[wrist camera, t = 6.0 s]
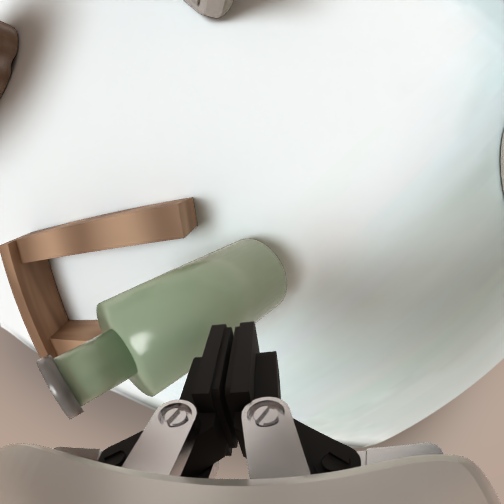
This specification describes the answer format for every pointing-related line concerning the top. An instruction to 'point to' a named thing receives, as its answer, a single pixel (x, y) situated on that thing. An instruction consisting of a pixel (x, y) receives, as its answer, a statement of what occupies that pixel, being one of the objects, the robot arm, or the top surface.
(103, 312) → the bottle
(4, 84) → the plant pot
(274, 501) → the robot arm
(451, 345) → the top surface
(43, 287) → the rest
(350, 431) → the top surface
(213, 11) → the digital clock
